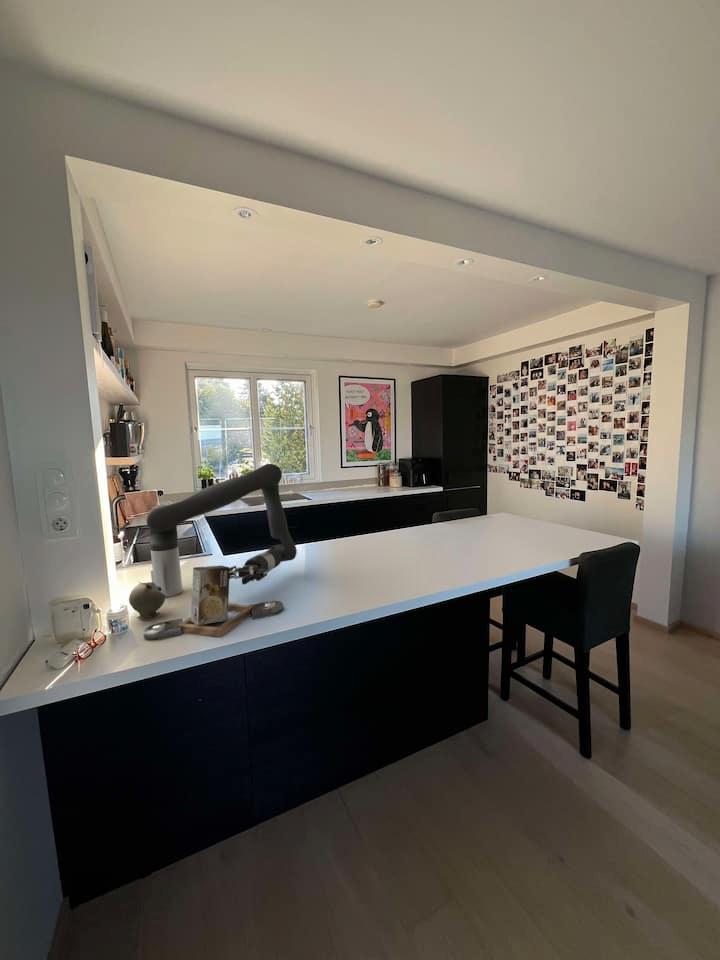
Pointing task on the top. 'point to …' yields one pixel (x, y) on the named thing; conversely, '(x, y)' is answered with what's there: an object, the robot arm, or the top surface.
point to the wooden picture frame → (244, 611)
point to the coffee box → (210, 594)
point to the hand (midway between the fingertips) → (231, 580)
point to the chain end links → (171, 627)
